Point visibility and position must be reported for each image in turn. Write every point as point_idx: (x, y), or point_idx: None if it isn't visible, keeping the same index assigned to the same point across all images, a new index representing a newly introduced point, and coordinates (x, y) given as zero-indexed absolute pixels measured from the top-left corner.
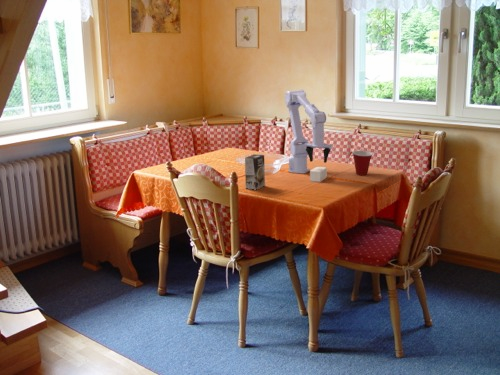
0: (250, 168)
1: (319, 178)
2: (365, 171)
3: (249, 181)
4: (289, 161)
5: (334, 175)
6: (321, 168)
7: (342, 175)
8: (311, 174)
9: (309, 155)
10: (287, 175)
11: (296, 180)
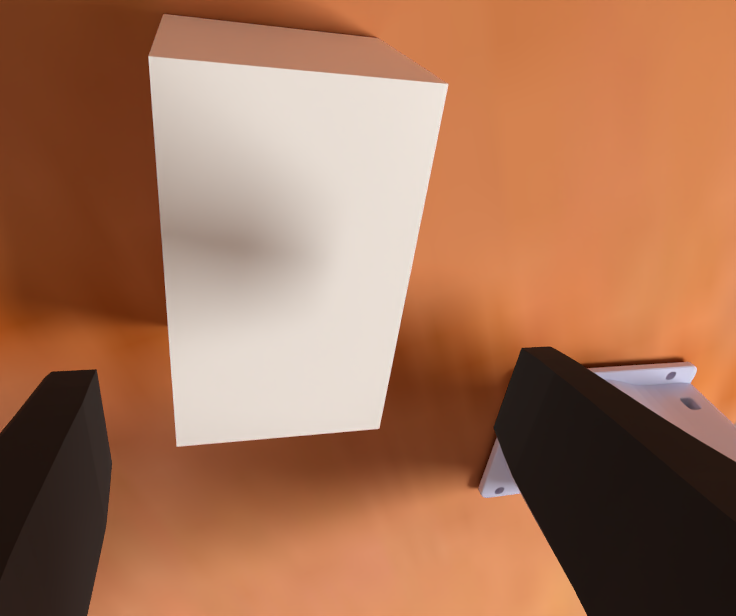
0: None
1: (178, 24)
2: None
3: None
4: None
5: (123, 442)
6: (250, 355)
7: None
8: (384, 59)
9: (704, 462)
10: (714, 245)
11: (609, 13)
